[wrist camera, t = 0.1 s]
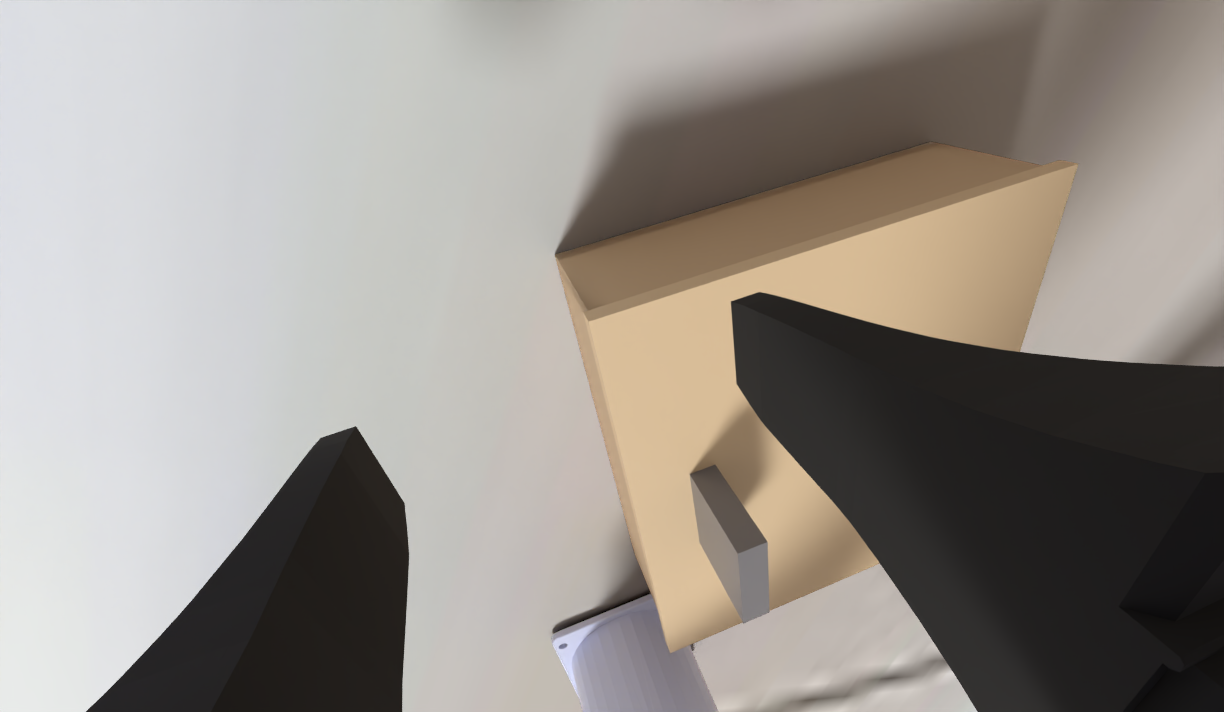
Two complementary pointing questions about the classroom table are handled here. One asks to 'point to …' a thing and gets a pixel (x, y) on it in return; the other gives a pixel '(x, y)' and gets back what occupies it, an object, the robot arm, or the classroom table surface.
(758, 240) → the tan shallow tray
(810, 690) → the classroom table surface
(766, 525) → the lid
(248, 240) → the classroom table surface
